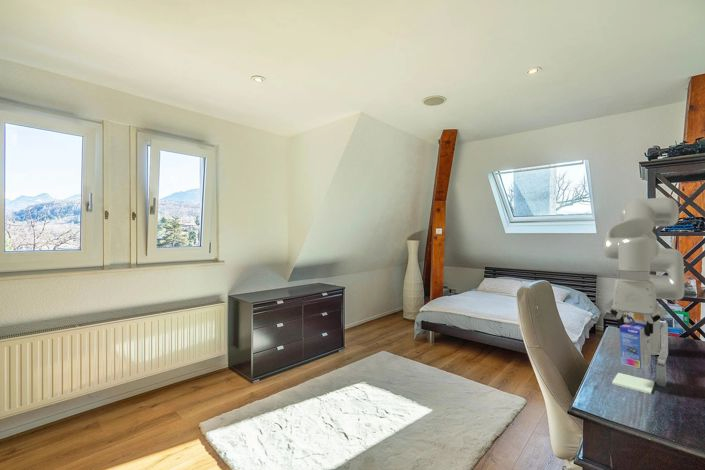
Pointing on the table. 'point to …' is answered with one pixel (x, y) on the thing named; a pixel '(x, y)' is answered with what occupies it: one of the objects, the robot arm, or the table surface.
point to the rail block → (661, 374)
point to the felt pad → (634, 383)
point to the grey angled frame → (664, 335)
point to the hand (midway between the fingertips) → (634, 332)
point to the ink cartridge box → (634, 345)
